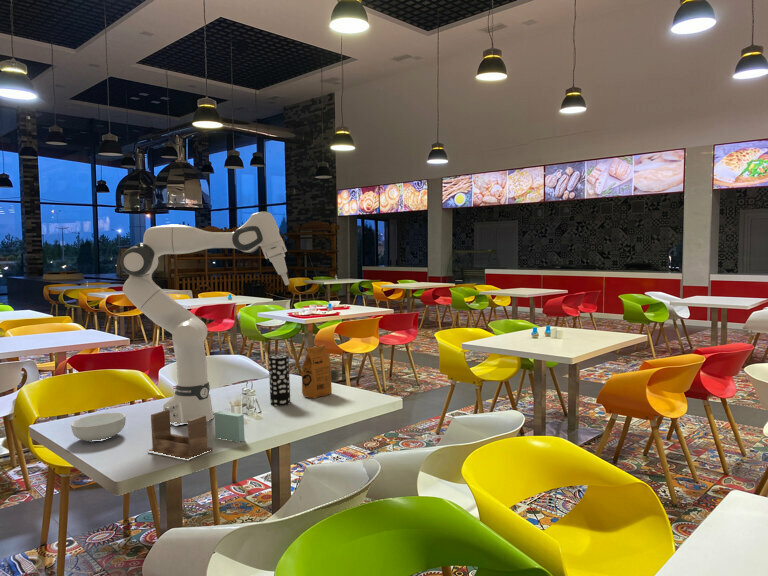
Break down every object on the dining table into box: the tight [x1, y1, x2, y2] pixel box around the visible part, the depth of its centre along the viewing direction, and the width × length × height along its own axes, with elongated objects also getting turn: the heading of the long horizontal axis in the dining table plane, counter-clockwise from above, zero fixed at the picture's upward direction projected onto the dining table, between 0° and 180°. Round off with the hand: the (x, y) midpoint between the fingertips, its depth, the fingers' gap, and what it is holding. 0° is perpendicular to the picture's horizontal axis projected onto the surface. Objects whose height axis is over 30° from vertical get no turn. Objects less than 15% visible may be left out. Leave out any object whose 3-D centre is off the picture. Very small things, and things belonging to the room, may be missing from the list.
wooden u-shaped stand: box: [148, 410, 213, 459], centre depth 176 cm, size 18×10×12 cm, turn 61°
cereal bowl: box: [70, 412, 127, 442], centre depth 193 cm, size 17×17×7 cm
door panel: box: [213, 410, 246, 443], centre depth 188 cm, size 11×2×9 cm, turn 61°
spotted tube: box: [268, 354, 291, 407], centre depth 233 cm, size 8×8×20 cm
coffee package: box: [301, 344, 333, 399], centre depth 245 cm, size 10×12×22 cm
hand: (287, 284), depth 216 cm, fingers open, 8 cm apart
